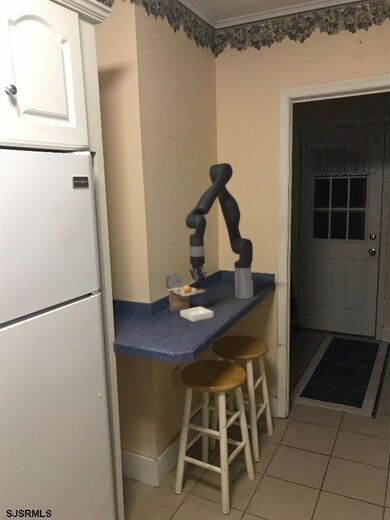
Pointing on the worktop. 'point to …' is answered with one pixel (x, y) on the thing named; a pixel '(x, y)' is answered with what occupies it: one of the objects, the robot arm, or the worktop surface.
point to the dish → (196, 314)
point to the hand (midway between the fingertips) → (198, 288)
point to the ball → (186, 288)
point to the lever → (179, 286)
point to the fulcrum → (178, 301)
